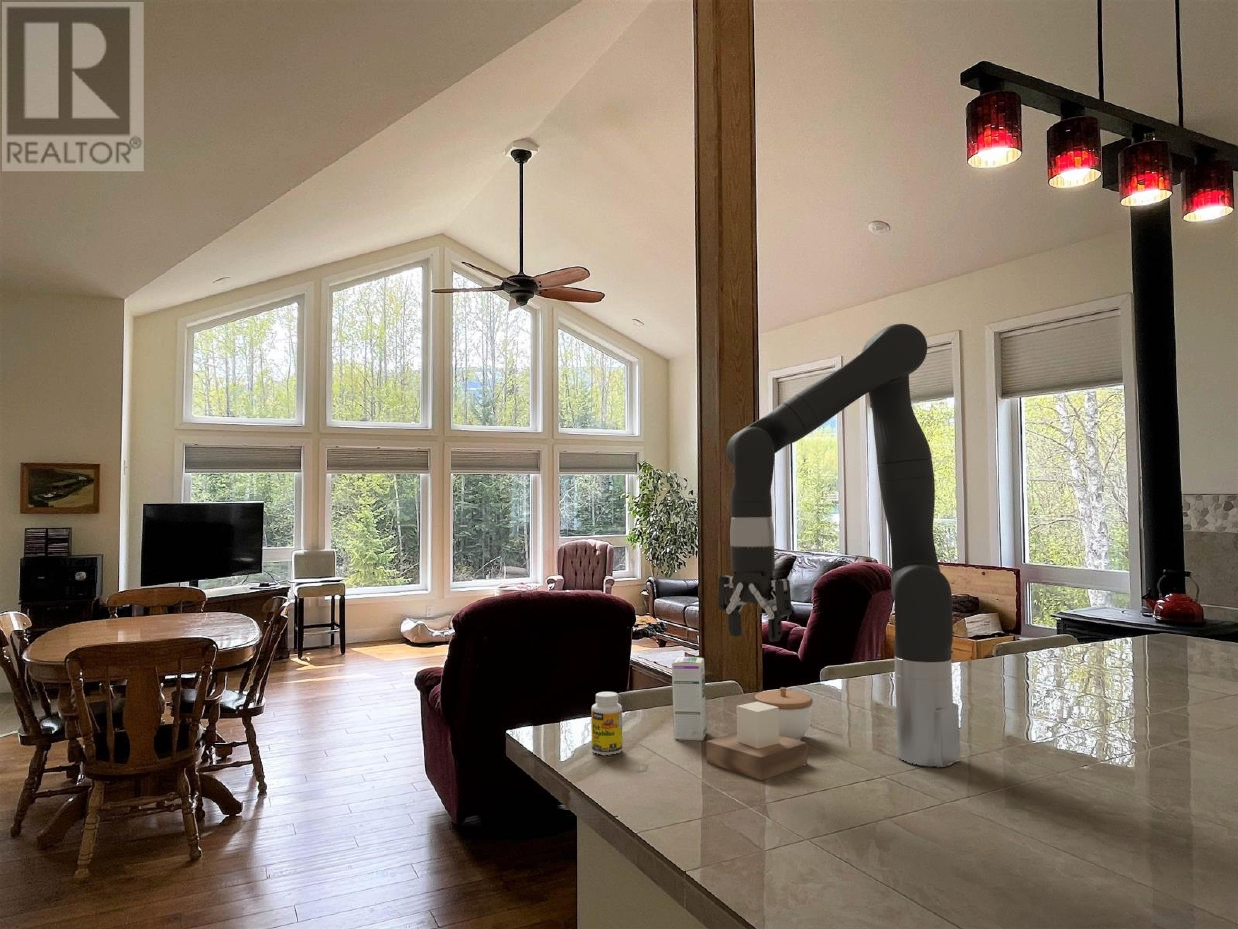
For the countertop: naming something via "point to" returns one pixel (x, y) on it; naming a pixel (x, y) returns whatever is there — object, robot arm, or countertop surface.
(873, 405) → the robot arm
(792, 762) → the walnut block
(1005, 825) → the countertop surface
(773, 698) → the lidded jar
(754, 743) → the cream block
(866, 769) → the countertop surface
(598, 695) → the supplement bottle
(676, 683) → the syrup box
